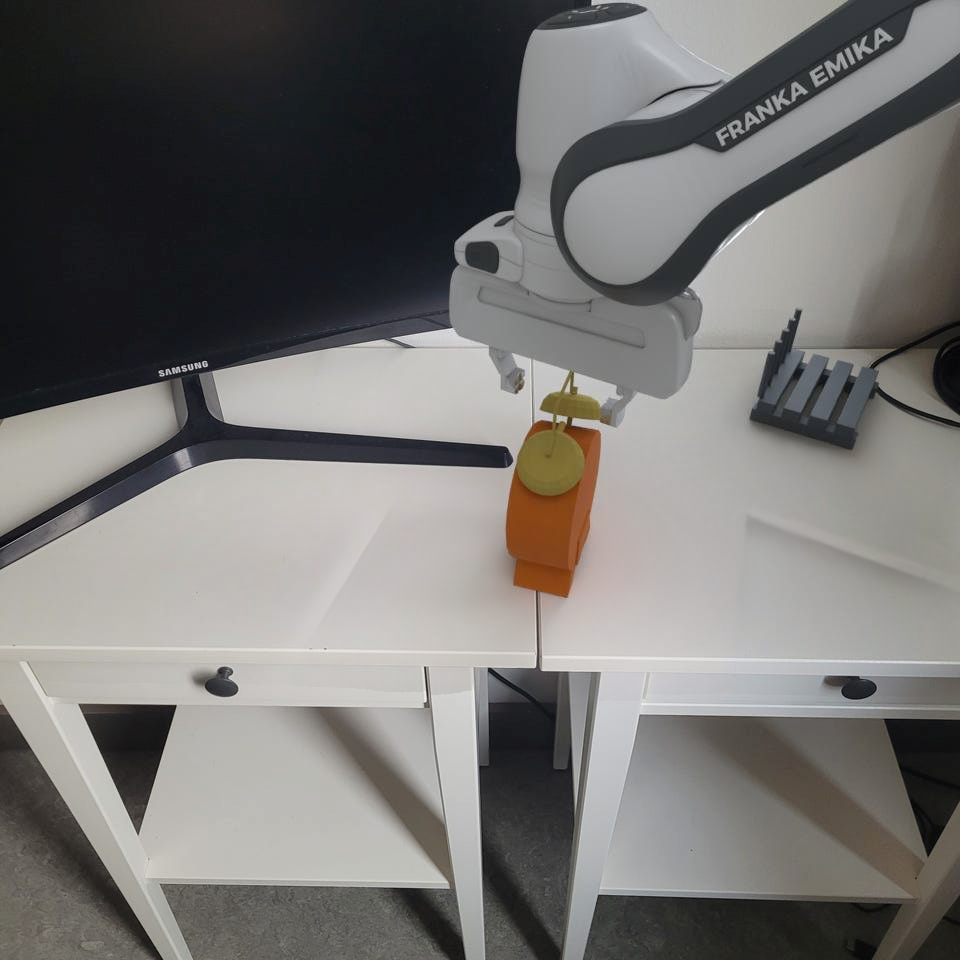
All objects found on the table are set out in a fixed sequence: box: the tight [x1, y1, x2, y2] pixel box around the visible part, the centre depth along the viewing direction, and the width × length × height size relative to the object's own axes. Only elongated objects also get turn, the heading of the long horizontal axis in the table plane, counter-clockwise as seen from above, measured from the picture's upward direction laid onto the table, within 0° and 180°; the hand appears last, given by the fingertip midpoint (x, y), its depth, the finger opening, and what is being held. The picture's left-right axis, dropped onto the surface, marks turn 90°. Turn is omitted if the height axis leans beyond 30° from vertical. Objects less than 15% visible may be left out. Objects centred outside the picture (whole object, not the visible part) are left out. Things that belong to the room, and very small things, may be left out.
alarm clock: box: [505, 371, 602, 599], centre depth 75 cm, size 13×6×20 cm, turn 162°
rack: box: [749, 307, 880, 450], centre depth 98 cm, size 12×14×9 cm
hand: (560, 405), depth 70 cm, fingers open, 8 cm apart
